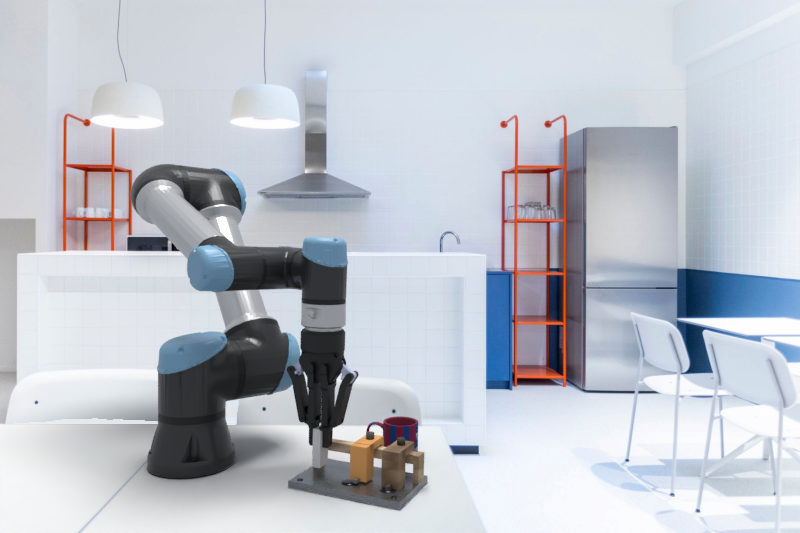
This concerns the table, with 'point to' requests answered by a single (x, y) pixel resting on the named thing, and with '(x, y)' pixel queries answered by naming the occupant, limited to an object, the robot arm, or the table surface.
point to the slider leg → (364, 457)
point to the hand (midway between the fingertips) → (319, 464)
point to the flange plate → (354, 485)
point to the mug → (398, 430)
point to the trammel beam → (392, 461)
